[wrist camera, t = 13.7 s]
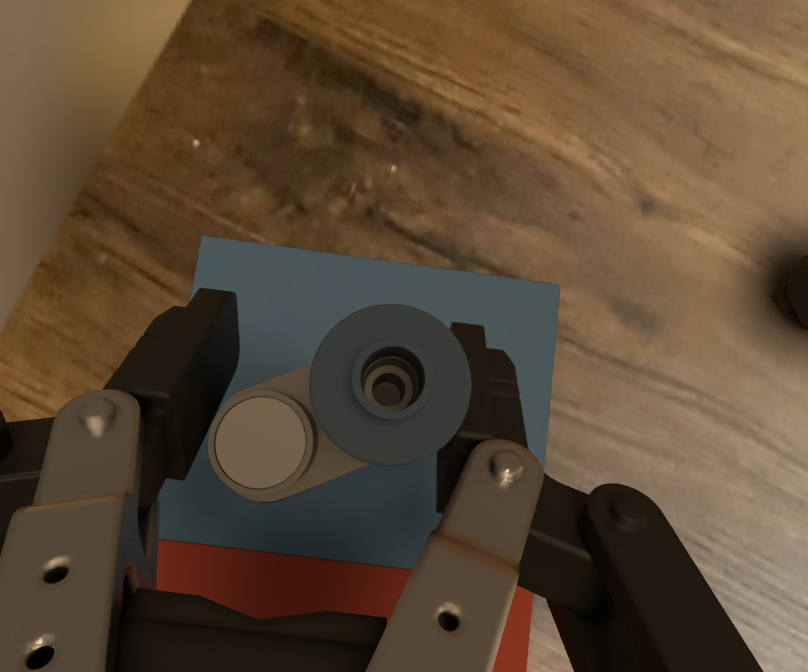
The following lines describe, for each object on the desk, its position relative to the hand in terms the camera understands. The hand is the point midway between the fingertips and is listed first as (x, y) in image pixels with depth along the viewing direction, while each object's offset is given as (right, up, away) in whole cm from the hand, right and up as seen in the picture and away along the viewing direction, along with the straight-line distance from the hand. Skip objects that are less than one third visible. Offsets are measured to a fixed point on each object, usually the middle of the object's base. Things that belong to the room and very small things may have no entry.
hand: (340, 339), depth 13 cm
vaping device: (-1, -3, +6) cm, 7 cm away
